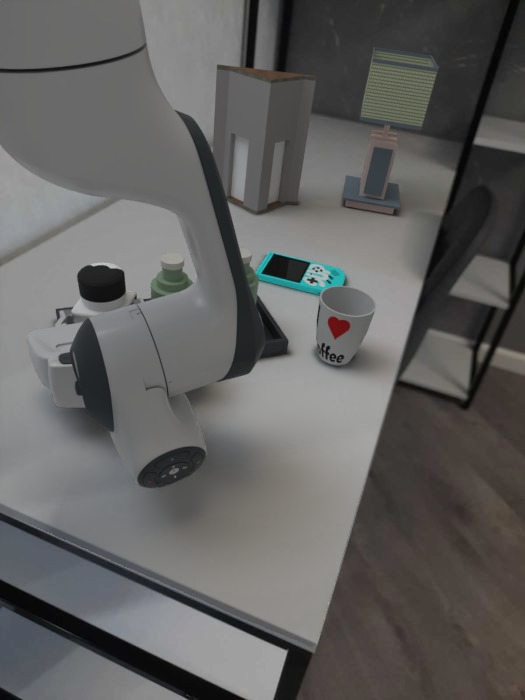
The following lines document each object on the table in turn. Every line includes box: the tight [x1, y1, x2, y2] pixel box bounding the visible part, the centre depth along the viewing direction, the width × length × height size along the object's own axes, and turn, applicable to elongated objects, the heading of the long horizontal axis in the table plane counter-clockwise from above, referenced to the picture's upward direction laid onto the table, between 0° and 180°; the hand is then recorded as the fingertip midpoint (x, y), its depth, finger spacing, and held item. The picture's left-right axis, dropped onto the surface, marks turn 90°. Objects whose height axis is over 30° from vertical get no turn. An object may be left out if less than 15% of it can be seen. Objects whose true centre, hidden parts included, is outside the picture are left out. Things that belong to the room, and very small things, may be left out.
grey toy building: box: [212, 64, 317, 215], centre depth 114 cm, size 21×10×28 cm, turn 92°
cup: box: [315, 285, 377, 367], centre depth 77 cm, size 8×8×10 cm
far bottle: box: [239, 246, 260, 303], centre depth 78 cm, size 6×6×13 cm
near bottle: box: [150, 252, 194, 300], centre depth 75 cm, size 6×6×13 cm
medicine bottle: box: [72, 262, 138, 323], centre depth 72 cm, size 7×7×12 cm
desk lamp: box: [341, 46, 439, 215], centre depth 124 cm, size 18×14×33 cm
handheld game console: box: [254, 251, 346, 296], centre depth 98 cm, size 10×16×1 cm, turn 73°
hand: (102, 308), depth 70 cm, fingers closed on medicine bottle, 8 cm apart
